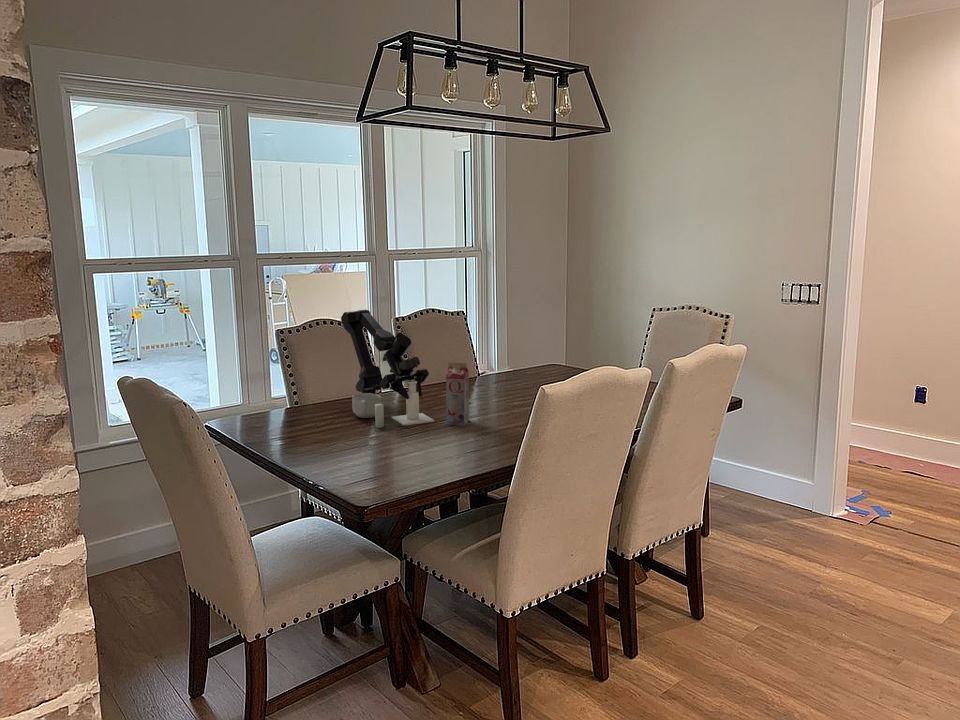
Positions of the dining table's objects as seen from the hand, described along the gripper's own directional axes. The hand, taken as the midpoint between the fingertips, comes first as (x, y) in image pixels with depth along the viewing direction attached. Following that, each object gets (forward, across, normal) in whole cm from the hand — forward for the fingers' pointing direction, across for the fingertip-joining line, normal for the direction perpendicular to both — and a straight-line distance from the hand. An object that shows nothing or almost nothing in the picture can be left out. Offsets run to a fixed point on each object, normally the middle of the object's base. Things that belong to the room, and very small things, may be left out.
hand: (414, 397), depth 276 cm
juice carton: (+15, +10, -2) cm, 18 cm away
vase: (+5, 0, +7) cm, 8 cm away
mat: (+5, 0, +7) cm, 9 cm away
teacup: (-5, -11, +18) cm, 21 cm away
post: (+5, -14, +7) cm, 17 cm away
